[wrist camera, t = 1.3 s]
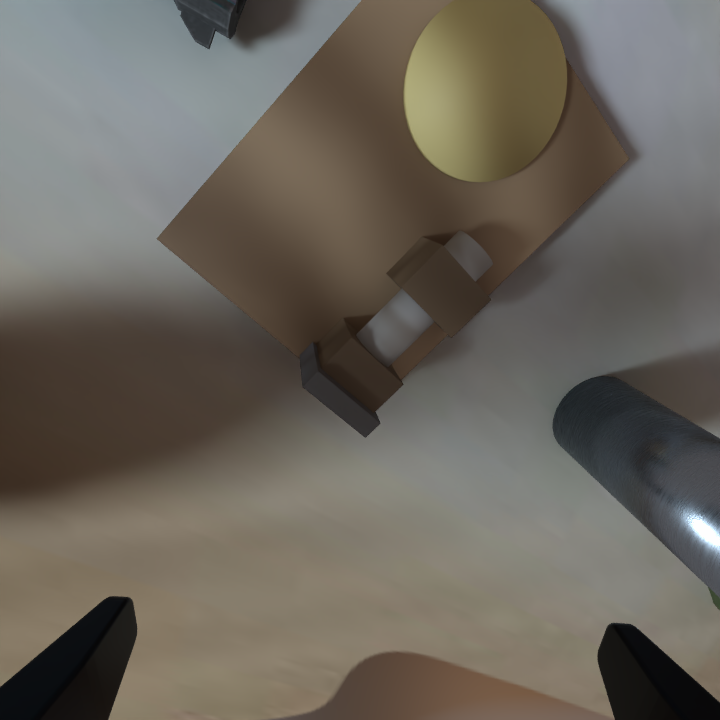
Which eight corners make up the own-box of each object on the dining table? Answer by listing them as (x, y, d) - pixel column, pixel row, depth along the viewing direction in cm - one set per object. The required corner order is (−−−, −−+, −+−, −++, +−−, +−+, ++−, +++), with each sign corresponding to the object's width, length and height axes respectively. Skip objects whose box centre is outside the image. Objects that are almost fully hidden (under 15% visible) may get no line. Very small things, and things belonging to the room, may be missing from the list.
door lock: (361, 402, 22) (379, 452, 18) (164, 235, 18) (130, 251, 14) (609, 160, 20) (694, 155, 16) (445, -92, 16) (503, -187, 12)
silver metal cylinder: (582, 469, 26) (752, 631, 16) (536, 421, 24) (695, 572, 15) (649, 412, 25) (865, 548, 16) (605, 358, 23) (818, 476, 14)
